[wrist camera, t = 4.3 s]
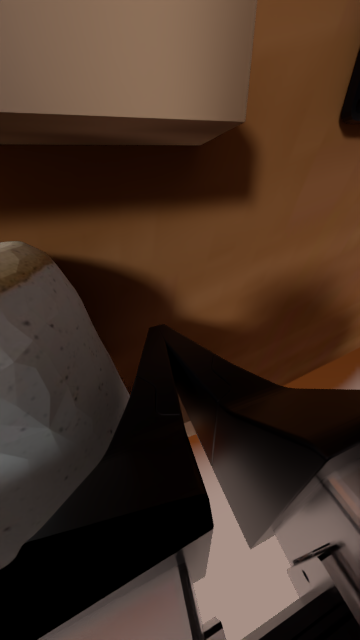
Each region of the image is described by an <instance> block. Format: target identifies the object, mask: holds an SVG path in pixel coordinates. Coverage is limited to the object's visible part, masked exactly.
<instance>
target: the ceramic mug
mask: <svg viewBox="0 0 360 640" xmlns="http://www.w3.org/2000/svg"><path fill="white" fill-rule="evenodd" d="M129 397H130V395H129V393H128V391H127V389H126V387H125V385H124V383H123V381H122V380H121V378H120V376H119V374H118V372H117V370H116V367H115V365H114V363H113V361H112V359H111V357H110V355H109V353H108V352H107V350H106V348H105V347H104V345H103V343H102V341H101V340H100V338H99V336H98V334H97V332H96V330H95V328H94V326H93V324H92V322H91V320H90V317H89V315H88V313H87V311H86V309H85V306H84V304H83V302H82V300H81V299H80V297H79V295H78V293H77V292H76V290H75V288H74V287H73V286H72V285H71V283H70V282H69V281H68V279H67V278H66V277H65V275H64V274H63V273H62V271H61V270H60V269H59V267H58V266H57V265H56V264H55V262H54V261H53V260H52V259H51V258H50V256H49V255H48V254H46V253H45V252H43V251H41V250H39V249H37V248H34V247H32V246H30V245H28V244H26V243H23V242H19V241H13V242H1V243H0V569H2V568H3V567H5V566H6V565H8V564H9V563H10V562H11V561H12V560H13V559H14V558H15V557H16V556H17V554H18V552H19V550H20V548H21V546H22V545H23V544H24V543H25V542H26V541H27V540H28V539H30V538H31V537H32V536H33V535H34V534H35V533H36V532H37V531H38V530H39V529H40V528H41V527H42V526H43V525H44V524H45V523H46V522H47V521H48V520H49V518H50V517H51V516H52V515H53V514H54V513H55V512H56V511H57V509H58V508H59V507H60V506H61V505H62V504H63V503H64V502H65V500H66V499H67V498H68V497H69V496H70V495H71V494H72V493H73V492H74V490H75V489H76V488H77V487H78V486H79V485H80V484H81V483H82V481H83V480H84V479H85V478H86V477H87V476H88V475H89V474H90V472H91V471H92V470H93V469H94V468H95V467H96V466H97V464H98V463H99V462H100V460H101V459H102V457H103V456H104V454H105V452H106V450H107V449H108V446H109V444H110V442H111V440H112V438H113V435H114V433H115V431H116V428H117V426H118V424H119V421H120V419H121V417H122V415H123V412H124V410H125V408H126V405H127V403H128V400H129Z"/></svg>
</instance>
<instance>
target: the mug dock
mask: <svg viewBox="0 0 360 640" xmlns="http://www.w3.org/2000/svg"><path fill="white" fill-rule="evenodd" d="M256 7H257V0H0V144H38V145H202V144H204V143H206V142H208V141H210V140H211V139H213V138H215V137H217V136H219V135H221V134H223V133H225V132H227V131H229V130H230V129H232V128H234V127H236V126H238V125H240V124H242V123H244V122H245V118H246V108H247V98H248V88H249V78H250V68H251V57H252V47H253V37H254V27H255V17H256ZM177 395H178V393H177ZM178 399H179V404H180V408H181V412H182V417H183V421H184V425H185V429H186V433H187V436H188V437H189V436H192V435H195V434H196V432H195V429H194V427H193V425H192V423H191V421H190V419H189V417H188V414H187V412H186V410H185V408H184V406H183V404H182V402H181V399H180V397H179V395H178Z"/></svg>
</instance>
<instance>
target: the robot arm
mask: <svg viewBox="0 0 360 640" xmlns="http://www.w3.org/2000/svg"><path fill="white" fill-rule="evenodd" d="M342 119H343V122H345V123H348V124H360V51H359V54H358V58H357V61H356V65H355V68H354V72H353V75H352V78H351V82H350V85H349V89H348V92H347V95H346V99H345V102H344V106H343V110H342ZM177 393H178V395H179V397H180V399H181V402H182V404H183V406H184V408H185V410H186V412H187V414H188V417H189V419H190V421H191V423H192V425H193V427H194V429H195V432H196V434H197V436H198V438H199V440H200V442H201V445H202V447H203V449H204V451H205V453H206V455H207V457H208V460H209V462H210V464H211V466H212V468H213V470H214V473H215V475H216V477H217V479H218V481H219V483H220V485H221V487H222V490H223V492H224V494H225V496H226V498H227V500H228V503H229V505H230V507H231V509H232V511H233V513H234V515H235V518H236V520H237V522H238V524H239V526H240V528H241V530H242V533H243V535H244V537H245V539H246V541H247V543H248V545H249V547H250V549H252V548H254V547H255V546H257V545H259V544H260V543H262V542H264V541H266V540H267V539H269V538H270V537H272V536H274V535H275V536H276V537H277V540H278V541H279V543H280V545H281V547H282V549H283V551H284V553H285V555H286V557H287V559H288V561H289V563H290V565H291V567H290V568H289V569H287V573H288V575H289V577H290V579H291V581H292V583H293V585H294V587H295V589H296V591H297V593H298V595H299V597H300V598H299V599H298V600H296V601H295V602H294V603H292V604H291V605H289V606H288V607H287V608H285V609H284V610H282V611H281V612H280V613H278V614H277V615H275V616H274V617H273V618H271V619H270V620H268V621H267V622H266V623H264V624H263V625H261V626H260V627H259V628H257V629H256V630H254V631H253V632H251V633H250V634H249V635H247V636H246V637H244V638H243V639H242V640H360V390H341V389H337V390H336V389H295V388H287V387H283V386H280V385H277V384H275V383H272V382H270V381H268V380H266V379H264V378H261V377H259V376H257V375H255V374H253V373H251V372H248V371H246V370H244V369H242V368H240V367H238V366H236V365H234V364H232V363H230V362H228V361H226V360H225V359H223V358H221V357H219V356H218V355H216V354H214V353H212V352H211V351H209V350H207V349H206V348H204V347H202V346H200V345H199V344H197V343H195V342H194V341H192V340H190V339H189V338H187V337H185V336H184V335H182V334H180V333H178V332H177V331H175V330H173V329H172V328H170V327H168V326H167V325H165V324H162V325H158V326H154V327H150V328H149V331H148V334H147V338H146V342H145V345H144V349H143V353H142V356H141V360H140V364H139V367H138V371H137V375H136V378H135V382H134V385H133V388H132V392H131V395H130V397H129V400H128V403H127V405H126V408H125V410H124V412H123V415H122V417H121V419H120V421H119V424H118V426H117V428H116V431H115V433H114V435H113V438H112V440H111V442H110V444H109V446H108V449H107V450H106V452H105V454H104V456H103V457H102V459H101V460H100V462H99V463H98V464H97V466H96V467H95V468H94V469H93V470H92V471H91V472H90V474H89V475H88V476H87V477H86V478H85V479H84V480H83V481H82V483H81V484H80V485H79V486H78V487H77V488H76V489H75V490H74V492H73V493H72V494H71V495H70V496H69V497H68V498H67V499H66V500H65V502H64V503H63V504H62V505H61V506H60V507H59V508H58V509H57V511H56V512H55V513H54V514H53V515H52V516H51V517H50V518H49V520H48V521H47V522H46V523H45V524H44V525H43V526H42V527H41V528H40V529H39V530H38V531H37V532H36V533H35V534H34V535H33V536H32V537H31V538H30V539H28V540H27V541H26V542H25V543H24V544H23V545H22V546H21V548H20V550H19V552H18V554H17V556H16V557H15V558H14V559H13V560H12V561H11V562H10V563H9V564H8V565H6V566H5V567H3V568H2V569H0V640H226V638H225V634H224V630H223V627H222V624H221V621H220V620H218V619H217V618H215V617H214V618H212V619H211V620H209V621H208V622H206V623H205V624H204V625H203V624H202V620H201V616H200V612H199V607H198V603H197V599H196V594H195V590H194V586H193V583H195V582H196V581H198V580H200V579H201V578H203V577H205V574H206V569H207V562H208V557H209V551H210V545H211V539H212V533H213V527H214V525H213V519H212V514H211V508H210V502H209V498H208V495H207V492H206V489H205V486H204V483H203V480H202V477H201V474H200V471H199V469H198V466H197V463H196V460H195V457H194V454H193V451H192V448H191V445H190V442H189V439H188V436H187V433H186V429H185V425H184V421H183V417H182V412H181V408H180V404H179V399H178V395H177Z"/></svg>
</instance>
